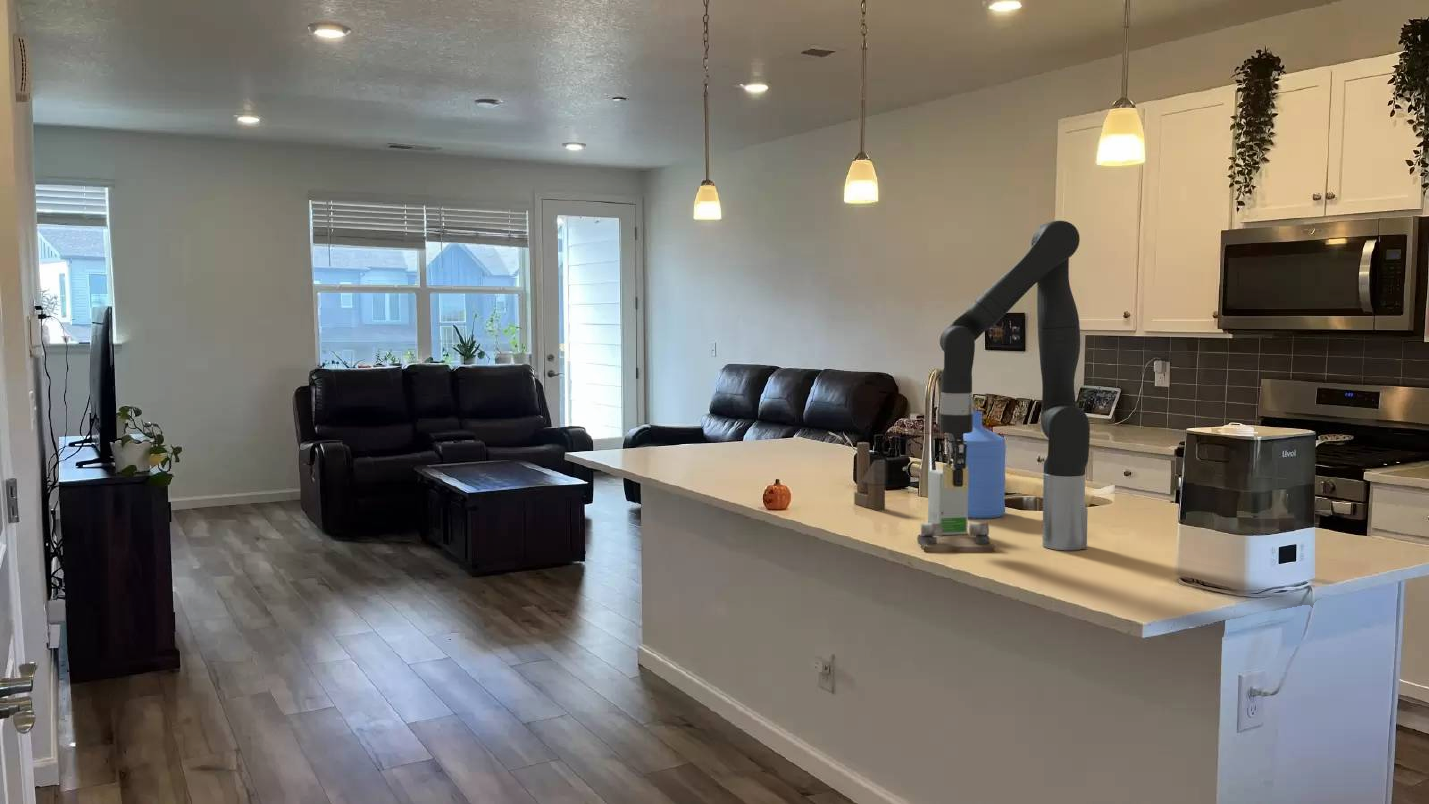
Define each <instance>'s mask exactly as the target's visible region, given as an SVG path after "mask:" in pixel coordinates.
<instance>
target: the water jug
mask: <svg viewBox="0 0 1429 804" xmlns="http://www.w3.org/2000/svg"><path fill="white" fill-rule="evenodd" d="M963 437H964V441H966V444H967V452H966V466H967V467H968V519H973V520H974V519H975V520H976V519H977V520H987V519H995V518H1001V517H1003V516H1004V515H1005V513H1006V505H1005V501H1006V500H1005V497H1006V496H1005V495H1006V494H1005V493H1006V492H1005V489H1006V488H1005V486H1006V453H1007V446H1006V439H1005V438H1004V436H1001V435H999V434H997V433H995V432H993V431H991V430H990V429H987V428H985V427H984V426H983V411H977V410H976V411H974V410H973V431H972V432H971V433H964V434H963ZM947 438H949V436H948V437H947ZM959 463H961V461H959Z"/></svg>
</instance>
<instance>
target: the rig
mask: <svg viewBox="0 0 1429 804" xmlns="http://www.w3.org/2000/svg"><path fill="white" fill-rule="evenodd" d="M968 531H969V532H968V533H969V536H943V535H942V524H941V523H928V522H927V523H925V522H924V523H923V522H921V523H920V534H918V535H917V538H916V539H917V541H918V542H917V544H918V545H919V544H920V545H921V546H920V545H919V546H920V548H921V547H922V548H921V549H922V551H923V550H924V551H923V552H924V553H995V552H996V551H995V545H994V544H992V542H991V541H990V537H989V535H990V534H989V533H990V526H989V523H988V522H969V524H968Z"/></svg>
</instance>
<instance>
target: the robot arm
mask: <svg viewBox="0 0 1429 804" xmlns="http://www.w3.org/2000/svg"><path fill="white" fill-rule="evenodd" d="M1080 239H1081V238H1080V233H1079V231H1078V229H1077V227H1076V226H1075V225H1074V224H1072V223H1070V222H1069V221H1065V220H1053V221H1050V222H1047V223H1045V224H1042V225H1040V226H1039V227H1038V228H1037V229H1036V230H1035V231H1034V233H1033V235H1032V239H1031V245H1030V246H1031V247H1030V248H1029V250H1028V251H1027V252H1026V254H1025V255H1023V257H1022V258H1021V259H1020V260H1019V261H1018V262H1017V263H1016V264H1015V265H1014V266H1013V267H1011V269H1009V270H1008V271H1007V272H1006V273H1004V274H1002V275H1001V276H1000V277H999V278H998V279H997V280H996V281H994V282H993V283H992V284H991V285H990V286H989V287H988V288H987V289H985V291H984V292H983V293H981V295H980V296H978V298H977V299H975V301H973V303H972V304H971V305H970V306H969V308H968V309H967V310H965V311H964V312H963V313H962V314H960V315H959V316H958V317H957V318H955V320H953V321H952V322H951V323H950V324H949V325H947V326H946V328H945V329H944V330H943V331H942V332H941V335H940V338H939V346H940V348H941V350H942V351H943V352H944V353H943V357H944V359H943V369H942V371H941V375H940V376H941V380H940V397H939V398H940V399H939V400H940V401H939V431H940V432H941V433H942V434H943V433H944V434H948V437H949V438H948V437H945V455H946V456H945V457H946V459H945V461H946V464H952V465H953V467H952V469H953V486H955V487H961V486H963V470H964V469H965V468H966V452H967V444H966V441H964V437H963V434H964V433H971V432H972V431H973V411H974V399H973V374H972V373H973V366H974V360H975V349H976V348H975V347H976V340H977V339H978V338H980V337H981V335H983V334H984V333H985V332H986V331H989V330H990V329H992V328H993V327H994V326H995V325H996V324H997V323H998V322H999V321H1000V320H1001V319H1003V317H1005V315H1006V314H1007V313H1008V312H1009V311H1010V310H1011V309H1013V308H1014V306H1015V305H1016V304H1017V303H1018V302H1019V301H1020V300H1021V299H1022V297H1024V296H1025V294H1027V293H1028V291H1029V290H1030V289H1031V288H1032V287H1033V286H1035V284H1036V287H1037V289H1036V290H1037V292H1036V295H1037V296H1036V299H1037V300H1036V308H1037V311H1036V313H1037V339H1038V340H1037V344H1038V350H1039V351H1038V353H1039V363H1040V375H1041V381H1042V382H1041V383H1042V385H1041V386H1042V387H1041V388H1042V390H1041V391H1042V393H1041V409H1040V410H1041V413H1040V425H1041V430H1042V432H1043V435H1045V436H1046V438H1047V439H1048V441H1047V443H1048V444H1047V457H1046V459H1045V460H1044V462H1043V485H1042V486H1043V487H1042V489H1043V490H1042V491H1043V492H1042V493H1043V494H1042V497H1043V499H1042V546H1043V547H1044V548H1046V549H1047V548H1048V549H1050V550H1056V551H1077V550H1087V549H1088V512H1089V511H1088V507H1086V506H1085V505H1086V470H1087V465H1088V462H1089V457H1090V440H1091V438H1090V437H1091V435H1090V434H1091V433H1090V432H1091V427H1090V420H1089V417H1088V416H1087V414H1086V413H1085V412H1084V411H1083V409H1081V408H1079V407H1077V402H1076V393H1075V377H1076V370H1077V367H1078V362H1079V358H1080V352H1081V327H1080V319H1079V318H1080V316H1079V313H1078V308H1077V305H1076V302H1075V299H1074V298H1075V297H1074V296H1073V291H1072V289H1071V284H1070V276H1069V274H1070V271H1069V267H1070V258H1072V256H1073V255H1074V254H1075V252H1077V250H1078V248H1079V246H1080ZM959 461H961V463H959Z"/></svg>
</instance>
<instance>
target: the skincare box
mask: <svg viewBox="0 0 1429 804" xmlns="http://www.w3.org/2000/svg"><path fill="white" fill-rule="evenodd" d="M927 491H928V492H927V493H928V494H927V495H928V497H927V502H928V503H927V523H941V524H942V536H949V535H951V536H952V535H954V536H955V535H957V536H958V535H967V534H968V533H969V532H968V531H969V530H968V529H969V524H968V521H969V520H968V519H969V518H968V489H946V488H945V487H944V486H943V469H931V470H928V490H927Z"/></svg>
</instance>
